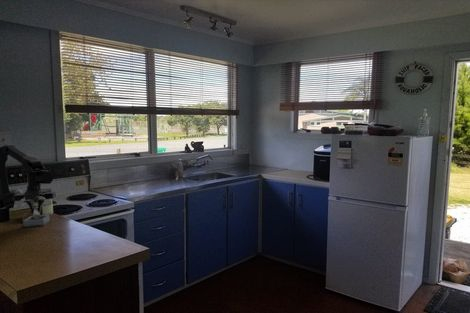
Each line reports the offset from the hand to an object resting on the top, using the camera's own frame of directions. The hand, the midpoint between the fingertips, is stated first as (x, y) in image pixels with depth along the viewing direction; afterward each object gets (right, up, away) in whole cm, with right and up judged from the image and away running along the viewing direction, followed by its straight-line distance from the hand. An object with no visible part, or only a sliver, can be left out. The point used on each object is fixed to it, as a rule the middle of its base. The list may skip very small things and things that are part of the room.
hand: (36, 212), depth 182 cm
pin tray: (0, -6, +1) cm, 6 cm away
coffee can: (-8, -4, +21) cm, 23 cm away
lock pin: (0, -4, 0) cm, 4 cm away
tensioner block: (-8, -5, +9) cm, 13 cm away
